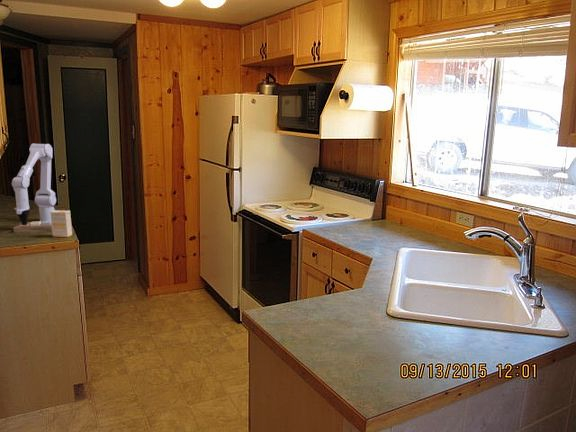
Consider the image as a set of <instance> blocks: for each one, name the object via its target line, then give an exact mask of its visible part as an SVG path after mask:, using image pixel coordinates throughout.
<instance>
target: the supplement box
mask: <svg viewBox="0 0 576 432" xmlns="http://www.w3.org/2000/svg"><path fill="white" fill-rule="evenodd" d="M50 213H51V223H52V231H51V232H52V237H53V238H69V237H72V236H73V227H72V226H73V225H72V218H71V215H72V214H71V210H63V209H61V210H59V209H55V210H54V211H52V212H50Z"/></svg>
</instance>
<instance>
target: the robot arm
mask: <svg viewBox="0 0 576 432" xmlns="http://www.w3.org/2000/svg"><path fill="white" fill-rule="evenodd" d="M28 150H29V155H28V158H27V160H26V162H25V164H24V165H22V166H21V168H20V170H19V171H18V173H17V175H16V176H15V177H13V178H12V180H11V186H12V188H13V191H14V194H15V202H16V207H14V211H16V215H17V216H18V218H19V221H20V223H22V225H27V222H29V220H28V219H29V216H30V213H31V210H30V204H29V194H28V193H29V191H28V187H29V186H30V181H31V179H30V178H31V176H32V174H33V172H34V169H33V167H34V166H35V164H36V162H37V161H38V160H39V161H40V179H39V180H40V182H39V183H40V186H39V189H38V190H36V192H35V197H34V203H35V204H36V206H37V207H38V212H39V221H41V222H43V221H51V213H50V212H52V211H54V210H56V209H55V207H54V206H55V205H56V203H57V197H56V192H55V191H54V190H52V189H51V187H52V186H51V183H52V181H51V180H52V159H53V147H52V145H51V144H50V143H31V144H30V146H29V149H28Z"/></svg>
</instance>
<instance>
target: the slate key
mask: <svg viewBox="0 0 576 432" xmlns="http://www.w3.org/2000/svg"><path fill="white" fill-rule="evenodd" d="M51 224H52V223H51V221H43V222H42V225H51Z"/></svg>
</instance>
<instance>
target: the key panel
mask: <svg viewBox="0 0 576 432" xmlns="http://www.w3.org/2000/svg"><path fill="white" fill-rule="evenodd" d="M31 222H32V221H28V222H27V224H30V223H31ZM21 224H22V223H21V222H20V223H18V224H17V225H15V226H14V227H13V233H14V234H15V233H16V234H17V233H43V232H45V233H46V232H47V233H48V231H50V232H52V224H51V225H42V222H41V225H38V226H30V225H29V226H20V225H21Z"/></svg>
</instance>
